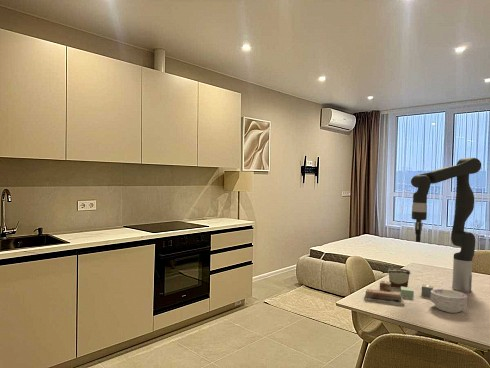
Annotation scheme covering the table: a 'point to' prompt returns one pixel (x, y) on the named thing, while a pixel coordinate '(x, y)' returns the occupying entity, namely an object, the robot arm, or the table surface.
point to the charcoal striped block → (426, 290)
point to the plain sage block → (407, 292)
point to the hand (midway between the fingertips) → (418, 241)
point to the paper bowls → (448, 300)
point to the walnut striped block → (385, 286)
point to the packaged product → (384, 297)
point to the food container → (398, 277)
